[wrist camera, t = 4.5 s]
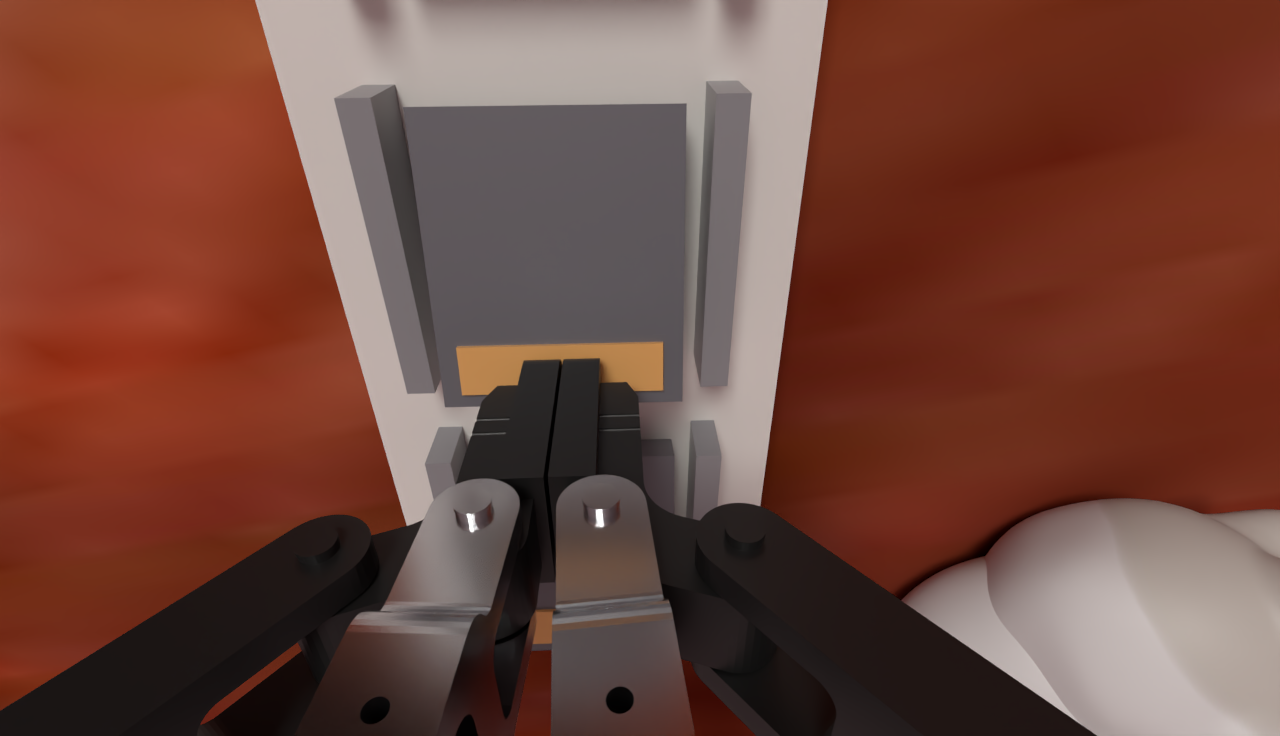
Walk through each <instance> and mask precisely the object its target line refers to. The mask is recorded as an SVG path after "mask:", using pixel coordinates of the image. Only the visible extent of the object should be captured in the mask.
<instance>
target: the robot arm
mask: <svg viewBox="0 0 1280 736" xmlns="http://www.w3.org/2000/svg"><path fill="white" fill-rule="evenodd" d="M555 581H556V610H555V611H553V616H552V689H551V736H695V732H694V727H693V722H692V716H691V711H690V705H689V700H688V695H687V689H686V684H685V678H684V673H683V668H682V662H681V659H683V660H687V661H690V662H691V663H692V666H693V669H694V670H695V672H696V674H697V676H698V677H699V678H700V679H701V680H702V681H703V682H704V683H705V684H706V685H707V686H708V687H709V688H710V689H711V690H712V692H713V693H714V694H715V695H716V696H717V697H718V698H719V699H720V700H721V701H722V702H723V703H724V704H725V705H726V706H727V707H728V708H729V709H730V710H731V711H732V712H733V713H734V714H735V715H736V716H737V717H738V718H739V719H740V720H741V721H742V722H743V723H744V724H745V725H746V726H747V727H748V728H749V729H750V730H751V731H752V732H753V733H754V734H755V735H756V736H1097V735H1096V734H1094V733H1093V732H1091V731H1090V730H1088V729H1087V728H1085V727H1084V726H1083V725H1081V724H1080V723H1078V722H1077V721H1075V720H1074V719H1072V718H1071V717H1069V716H1068V715H1067V714H1065V713H1064V712H1062V711H1061V710H1059V709H1058V708H1056V707H1055V706H1053V705H1052V704H1051V703H1049V702H1048V701H1046V700H1045V699H1043V698H1042V697H1040V696H1039V695H1038V694H1036V693H1035V692H1033V691H1032V690H1030V689H1029V688H1027V687H1026V686H1024V685H1023V684H1022V683H1020V682H1019V681H1017V680H1016V679H1014V678H1013V677H1011V676H1010V675H1009V674H1007V673H1006V672H1004V671H1003V670H1001V669H1000V668H998V667H997V666H995V665H994V664H993V663H991V662H990V661H988V660H987V659H985V658H984V657H982V656H981V655H979V654H978V653H977V652H975V651H974V650H972V649H971V648H969V647H968V646H966V645H965V644H964V643H962V642H961V641H959V640H958V639H956V638H955V637H953V636H952V635H950V634H949V633H948V632H946V631H945V630H943V629H942V628H940V627H939V626H937V625H936V624H935V623H933V622H932V621H930V620H929V619H927V618H926V617H924V616H923V615H921V614H920V613H919V612H917V611H916V610H914V609H913V608H911V607H910V606H908V605H907V604H905V603H904V602H903V601H901V600H900V599H898V598H897V597H895V596H894V595H892V594H891V593H890V592H888V591H887V590H885V589H884V588H882V587H881V586H879V585H878V584H876V583H875V582H874V581H872V580H871V579H869V578H868V577H866V576H865V575H863V574H862V573H861V572H859V571H858V570H856V569H855V568H853V567H852V566H850V565H849V564H847V563H846V562H845V561H843V560H842V559H840V558H839V557H837V556H836V555H834V554H833V553H831V552H830V551H829V550H827V549H826V548H824V547H823V546H821V545H820V544H818V543H817V542H816V541H814V540H813V539H811V538H810V537H808V536H807V535H805V534H804V533H802V532H801V531H800V530H798V529H797V528H795V527H794V526H792V525H791V524H789V523H788V522H787V521H785V520H784V519H782V518H781V517H779V516H778V515H776V514H775V513H773V512H771V511H770V510H768V509H765V508H763V507H761V506H757V505H754V504H748V503H729V504H724V505H721V506H718V507H715V508H714V509H712V510H710V511H709V512H707V513H706V514H705V515H704V516H703V517H702V519H701V520H695V519H691V518H686V517H682V516H678V515H675V514H673V513H670V512H668V511H666V510H664V509H662V508H661V507H659V506H658V505H657V504H656V503H654V501H653V500H652V499H651V498H650V497H649V495H648V494H647V492H646V489H645V486H644V478H643V462H642V447H641V431H640V417H639V400H638V395H637V394H636V393H635V392H634V390H633V389H632V388H631V387H630V385H629V384H628V383H627V382H608V383H601V364H600V358H584V359H563V365H562V361H561V359H552V360H524V361H523V364H522V368H521V373H520V377H519V381H518V385H506V386H497V387H496V388H495V389H494V390H493V391H492V392H491V393H490V394H489V395H488V396H486V397H485V398H484V399H483V400H482V402H481V406H480V409H479V412H478V415H477V422H475V425H474V428H473V431H472V436H471V437H470V441H469V444H468V447H467V450H466V453H465V456H464V460H463V463H462V466H461V469H460V472H459V476H458V479H457V482H456V485H453V486H451V487H450V488H448V489H446V490H445V491H443V492H442V493H441V494H440V495H438V496H437V497H436V498H435V500H434V501H433V502H432V503H431V505H430V507H429V509H428V511H427V513H426V515H425V518H424V519H423V520H421V521H419V522H417V523H414V524H411V525H408V526H405V527H401V528H398V529H394V530H390V531H387V532H383V533H379V534H376V535H372V536H371V533H370V529H369V528H368V526H367V525H366V524H365V523H364V522H363V521H362V520H360V519H358V518H356V517H353V516H348V515H330V516H324V517H320V518H316V519H313V520H310V521H308V522H305V523H303V524H301V525H299V526H297V527H296V528H294V529H292V530H290V531H289V532H287V533H286V534H284V535H282V536H281V537H279V538H278V539H276V540H274V541H273V542H271V543H270V544H268V545H266V546H265V547H263V548H261V549H260V550H258V551H257V552H255V553H253V554H252V555H250V556H249V557H247V558H245V559H244V560H242V561H241V562H239V563H237V564H236V565H234V566H233V567H231V568H229V569H228V570H226V571H224V572H223V573H221V574H220V575H218V576H216V577H215V578H213V579H212V580H210V581H208V582H207V583H205V584H204V585H202V586H200V587H199V588H197V589H196V590H194V591H192V592H191V593H189V594H187V595H186V596H184V597H183V598H181V599H179V600H178V601H176V602H175V603H173V604H171V605H170V606H168V607H167V608H165V609H163V610H162V611H160V612H159V613H157V614H155V615H154V616H152V617H150V618H149V619H147V620H146V621H144V622H142V623H141V624H139V625H138V626H136V627H134V628H133V629H131V630H130V631H128V632H126V633H125V634H123V635H122V636H120V637H118V638H117V639H115V640H114V641H112V642H110V643H109V644H107V645H105V646H104V647H102V648H101V649H99V650H97V651H96V652H94V653H93V654H91V655H89V656H88V657H86V658H85V659H83V660H81V661H80V662H78V663H77V664H75V665H73V666H72V667H70V668H68V669H67V670H65V671H64V672H62V673H60V674H59V675H57V676H56V677H54V678H52V679H51V680H49V681H48V682H46V683H44V684H43V685H41V686H40V687H38V688H36V689H35V690H33V691H31V692H30V693H28V694H27V695H25V696H23V697H22V698H20V699H19V700H17V701H15V702H14V703H12V704H11V705H9V706H7V707H6V708H4V709H3V710H1V711H0V736H514V734H515V728H516V723H517V718H518V713H519V708H520V703H521V698H522V693H523V689H524V684H525V679H526V674H527V669H528V664H529V659H530V654H531V649H532V645H533V640H534V635H535V630H536V623H537V619H536V611H535V610H536V607H537V602H538V593H539V585H540V583H552V582H555ZM297 642H298V644H299V646H300V648H301V650H302V651H301V652H300V653H299V654H297V655H296V656H295V657H293V658H292V659H291V660H290V661H288V662H287V663H286V664H284V665H283V666H282V667H280V668H279V669H278V670H277V671H275V672H274V673H273V674H271V675H270V676H269V677H267V678H266V679H265V680H264V681H262V682H261V683H260V684H258V685H257V686H256V687H254V688H253V689H252V690H251V691H249V692H248V693H247V694H245V695H244V696H243V697H241V698H240V699H239V700H237V701H236V702H235V703H234V704H232V705H231V706H230V707H228V708H227V709H226V710H224V711H223V712H222V713H221V714H219V715H218V716H217V717H215V718H214V719H212V720H210V721H209V722H207V723H205V724H202V725H200V723H201V721H202V720H203V718H204V717H205V715H206V714H207V713H208V711H209V710H210V709H211V708H212V707H213V706H214V705H215V704H216V703H218V702H219V701H220V700H221V699H223V698H224V697H225V696H227V695H228V694H229V693H231V692H232V691H233V690H235V689H236V688H237V687H239V686H240V685H241V684H243V683H244V682H245V681H247V680H248V679H249V678H251V677H252V676H253V675H255V674H256V673H257V672H259V671H260V670H261V669H263V668H264V667H265V666H267V665H268V664H269V663H271V662H272V661H273V660H274V659H276V658H277V657H278V656H280V655H281V654H282V653H284V652H285V651H286V650H288V649H289V648H290V647H292V646H293V645H294V644H296V643H297Z"/></svg>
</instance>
